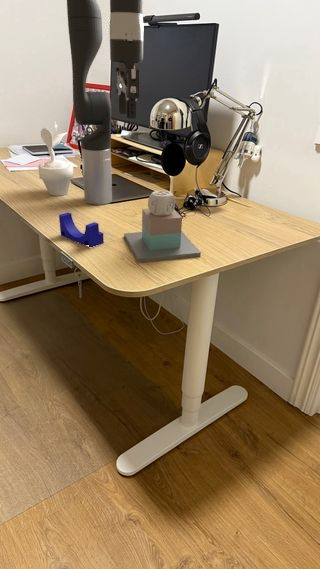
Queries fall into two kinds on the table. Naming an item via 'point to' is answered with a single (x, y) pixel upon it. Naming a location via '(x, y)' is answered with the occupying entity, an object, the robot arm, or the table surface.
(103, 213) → the table surface
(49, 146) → the potted plant
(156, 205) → the die
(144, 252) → the brick tower
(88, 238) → the blue saddle bracket
